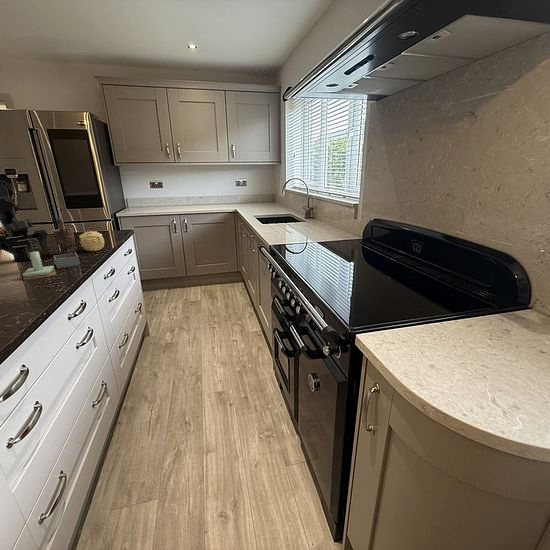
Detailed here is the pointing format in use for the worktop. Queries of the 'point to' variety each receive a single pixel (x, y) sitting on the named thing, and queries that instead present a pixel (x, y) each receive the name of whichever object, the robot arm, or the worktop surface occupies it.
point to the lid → (37, 266)
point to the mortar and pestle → (64, 237)
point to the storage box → (66, 260)
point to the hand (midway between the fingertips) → (30, 253)
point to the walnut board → (40, 275)
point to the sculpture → (92, 241)
